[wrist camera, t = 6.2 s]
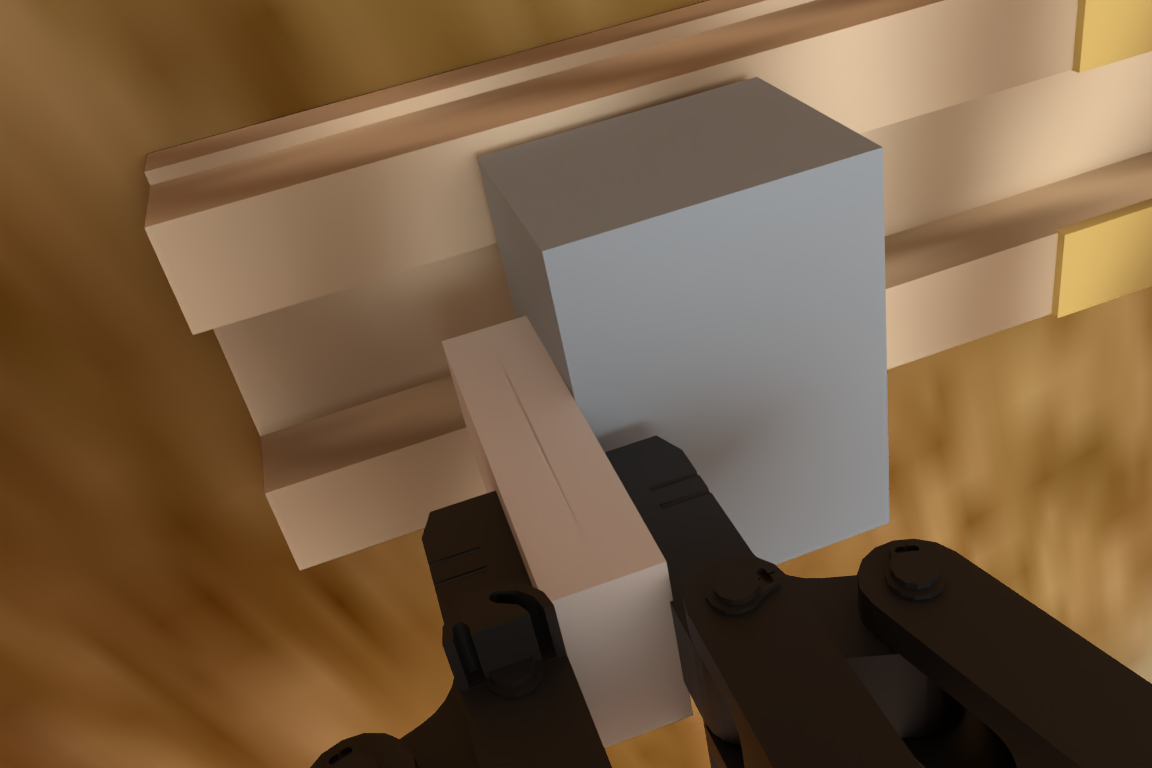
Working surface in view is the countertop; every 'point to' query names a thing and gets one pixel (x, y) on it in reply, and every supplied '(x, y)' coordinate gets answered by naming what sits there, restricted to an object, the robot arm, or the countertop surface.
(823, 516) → the rider
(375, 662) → the countertop surface
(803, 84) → the rail
